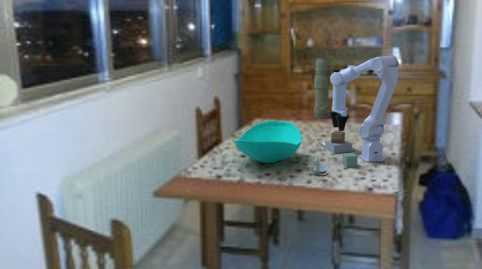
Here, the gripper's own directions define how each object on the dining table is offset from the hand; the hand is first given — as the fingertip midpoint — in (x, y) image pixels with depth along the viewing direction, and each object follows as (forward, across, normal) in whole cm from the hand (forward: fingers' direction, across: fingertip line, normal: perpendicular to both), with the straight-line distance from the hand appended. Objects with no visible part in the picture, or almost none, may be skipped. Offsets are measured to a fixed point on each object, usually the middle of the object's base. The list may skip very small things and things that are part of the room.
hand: (338, 129), depth 235 cm
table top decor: (+10, -10, +34) cm, 37 cm away
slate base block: (+10, 0, 0) cm, 10 cm away
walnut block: (+6, 0, 0) cm, 6 cm away
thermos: (+10, +73, -14) cm, 75 cm away
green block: (+10, -24, +3) cm, 26 cm away
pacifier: (+10, -32, +18) cm, 38 cm away
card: (+10, +10, +1) cm, 14 cm away
